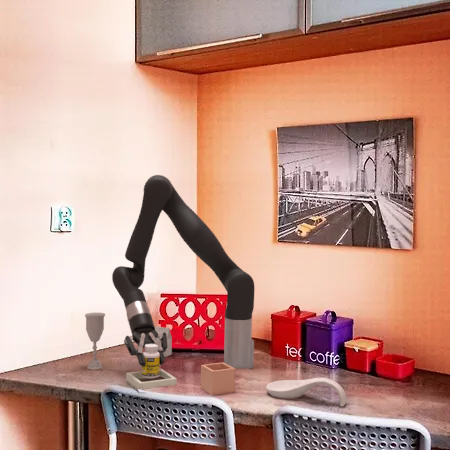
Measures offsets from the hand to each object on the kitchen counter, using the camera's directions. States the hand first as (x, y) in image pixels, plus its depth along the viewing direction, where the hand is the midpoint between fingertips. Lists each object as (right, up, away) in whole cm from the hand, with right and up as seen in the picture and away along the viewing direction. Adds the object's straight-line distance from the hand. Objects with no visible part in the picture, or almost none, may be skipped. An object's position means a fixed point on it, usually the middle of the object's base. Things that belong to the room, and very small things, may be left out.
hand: (153, 364), depth 208 cm
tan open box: (+20, -8, -5) cm, 22 cm away
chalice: (-22, -5, +20) cm, 30 cm away
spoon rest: (+46, -9, -10) cm, 48 cm away
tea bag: (-1, -5, +39) cm, 39 cm away
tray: (-1, -7, +2) cm, 7 cm away
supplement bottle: (-1, -4, +2) cm, 5 cm away
